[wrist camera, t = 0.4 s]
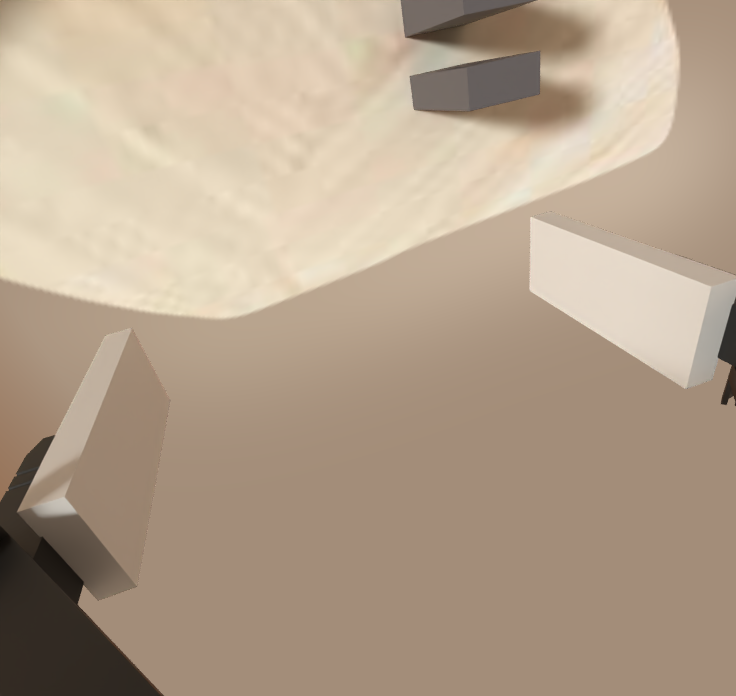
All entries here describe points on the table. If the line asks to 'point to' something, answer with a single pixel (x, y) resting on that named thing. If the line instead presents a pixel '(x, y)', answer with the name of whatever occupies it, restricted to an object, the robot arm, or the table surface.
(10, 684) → the robot arm
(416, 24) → the domino
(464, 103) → the domino
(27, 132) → the table surface
